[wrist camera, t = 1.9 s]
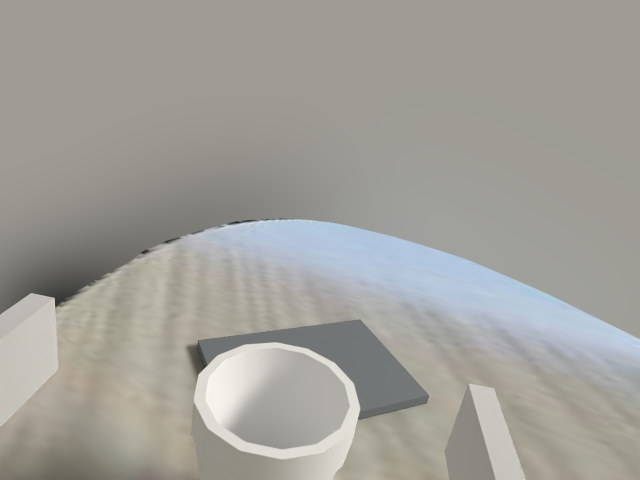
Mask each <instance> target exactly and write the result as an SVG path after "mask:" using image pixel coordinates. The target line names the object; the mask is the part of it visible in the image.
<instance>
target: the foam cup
mask: <svg viewBox="0 0 640 480" xmlns="http://www.w3.org/2000/svg"><path fill="white" fill-rule="evenodd" d="M359 412H360V405H359V401H358V398H357V394H356V390H355V386H354V383H353V382H352V381H351V380H350V379H349V378H348V377H347V376H346V375H345V373H344V372H343V371H342V370H341V369H340V368H339V367H338V366H337V365H336V364H335V363H334V362H332V361H330V360H328V359H326V358H325V357H323V356H321V355H319V354H317V353H315V352H313V351H311V350H309V349H307V348H302V347H297V346H292V345H287V344H282V343H277V342H274V343H260V344H245V345H242V346H240V347H237V348H235V349H232V350H230V351H227V352H225V353H222V354H220V355H217V356H216V357H215V358H214V359H213V360H212V361H211V363H210V364H209V365H208V366H207V367H206V368H205V369H204V370H203V371H202V372H201V373H200V374H199V375H198V380H197V385H196V391H195V396H194V404H193V416H192V429H191V435H192V437H193V439H194V441H195V443H196V451H197V462H198V473H199V480H333V478H334V476H335V473H336V471H337V470H338V469H339V468H341V467H342V466H343V464H344V461H345V458H346V456H347V453H348V450H349V448H350V445H351V443H352V440H353V436H354V432H355V428H356V424H357V420H358V416H359Z"/></svg>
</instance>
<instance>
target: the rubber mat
mask: <svg viewBox="0 0 640 480" xmlns="http://www.w3.org/2000/svg"><path fill="white" fill-rule="evenodd" d="M274 342H277V343H282V344H287V345H292V346H297V347H302V348H307V349H309V350H311V351H313V352H315V353H317V354H319V355H321V356H323V357H325V358H326V359H328V360H330V361H332V362H334V363H335V364H336V365H337V366H338V367H339V368H340V369H341V370H342V371H343V372H344V373H345V375H346V376H347V377H348V378H349V379H350V380H351V381H352V382H353V383H354V386H355V390H356V394H357V398H358V401H359V405H360V412H359V416H358V420H359V419H363V418H367V417H371V416H376V415H380V414H384V413H388V412H392V411H396V410H400V409H405V408H409V407H413V406H417V405H421V404H425V403H427V401H428V397H429V395H428V394H427V393H426V391H425V390H424V389H423V388H422V387H421V386H420V385H419V384H418V383H417V382H416V380H415V379H414V378H413V377H412V376H411V375H410V374H409V373H408V372H407V371H406V369H405V368H404V367H403V366H402V365H401V364H400V363H399V362H398V361H397V360H396V358H395V357H394V356H393V355H392V354H391V353H390V352H389V351H388V350H387V349H386V347H385V346H384V345H383V344H382V343H381V342H380V341H379V340H378V339H377V338H376V336H375V335H374V334H373V333H372V332H371V331H370V330H369V329H368V328H367V327H366V325H365V324H364V323H363V322H362V321H361V320H353V321H345V322H337V323H330V324H322V325H314V326H306V327H298V328H291V329H283V330H275V331H267V332H259V333H252V334H244V335H236V336H228V337H221V338H213V339H205V340H198V351H199V353H200V356H201V359H202V362H203V364H204V367H205V368H206V367H207V366H208V365H209V364H210V363H211V361H212V360H213V359H214V358H215V357H216V356H217V355H220V354H222V353H225V352H227V351H230V350H232V349H235V348H237V347H240V346H242V345H245V344H260V343H274Z"/></svg>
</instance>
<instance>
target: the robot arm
mask: <svg viewBox="0 0 640 480" xmlns="http://www.w3.org/2000/svg"><path fill="white" fill-rule="evenodd" d="M57 370H58V353H57V335H56V316H55V299H54V298H52V297H47V296H42V295H37V294H32V293H31V294H30V295H28V296H27V297H25V298H24V299H22V300H21V301H19V302H18V303H17V304H15V305H14V306H12V307H11V308H10V309H8V310H7V311H5V312H4V313H2V314H1V315H0V427H1V426H2V425H3V424H4V423H5V422H6V421H7V420H8V419H9V418H10V417H11V416H12V415H13V414H14V413H15V412H16V411H17V410H18V409H19V408H20V407H21V406H22V405H23V404H24V403H25V402H26V401H27V400H28V399H29V398H30V397H31V396H32V395H33V394H34V393H35V392H36V391H37V390H38V389H39V388H40V387H41V386H42V385H43V384H44V383H45V382H46V381H47V380H48V379H49V378H50V377H51V376H52V375H53V374H54V373H55V372H56V371H57ZM445 455H446V461H447V467H448V472H449V478H450V480H526V479H525V476H524V473H523V470H522V467H521V465H520V462H519V459H518V456H517V453H516V450H515V448H514V445H513V442H512V439H511V436H510V433H509V431H508V428H507V425H506V422H505V419H504V416H503V414H502V411H501V408H500V405H499V402H498V399H497V396H496V394H495V391H494V389H493V388H488V387H484V386H479V385H474V384H468V387H467V390H466V392H465V395H464V398H463V401H462V404H461V406H460V409H459V412H458V415H457V418H456V421H455V423H454V426H453V429H452V432H451V435H450V438H449V440H448V443H447V446H446V449H445Z"/></svg>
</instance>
